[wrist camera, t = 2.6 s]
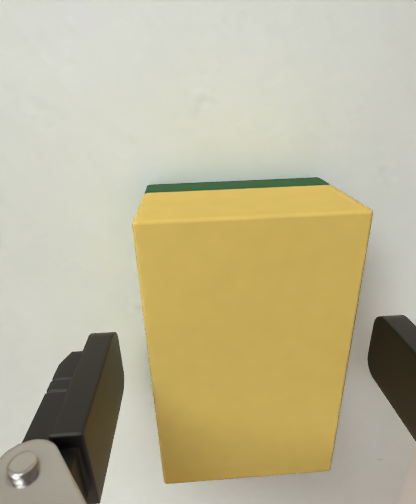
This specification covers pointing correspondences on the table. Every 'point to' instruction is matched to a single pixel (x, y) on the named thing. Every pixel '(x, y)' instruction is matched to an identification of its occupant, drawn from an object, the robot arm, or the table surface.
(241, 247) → the sponge
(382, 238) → the table surface
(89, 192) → the table surface
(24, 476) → the robot arm
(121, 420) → the table surface
